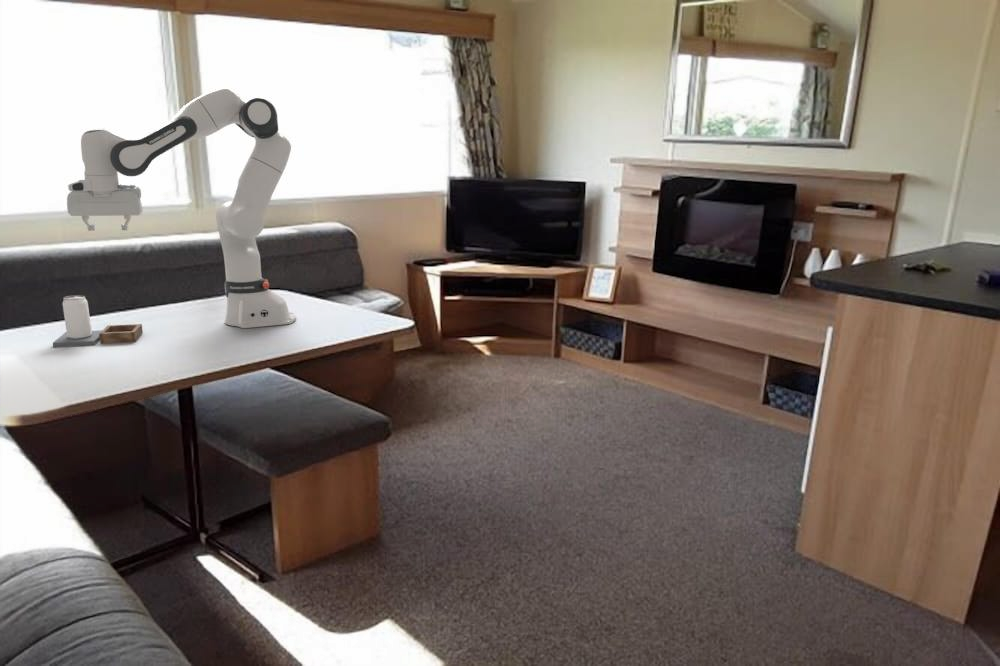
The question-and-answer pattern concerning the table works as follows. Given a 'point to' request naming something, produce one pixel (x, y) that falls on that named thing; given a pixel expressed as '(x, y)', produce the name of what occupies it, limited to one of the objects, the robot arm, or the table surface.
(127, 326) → the square wooden frame
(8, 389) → the table surface
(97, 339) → the coaster
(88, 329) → the can
